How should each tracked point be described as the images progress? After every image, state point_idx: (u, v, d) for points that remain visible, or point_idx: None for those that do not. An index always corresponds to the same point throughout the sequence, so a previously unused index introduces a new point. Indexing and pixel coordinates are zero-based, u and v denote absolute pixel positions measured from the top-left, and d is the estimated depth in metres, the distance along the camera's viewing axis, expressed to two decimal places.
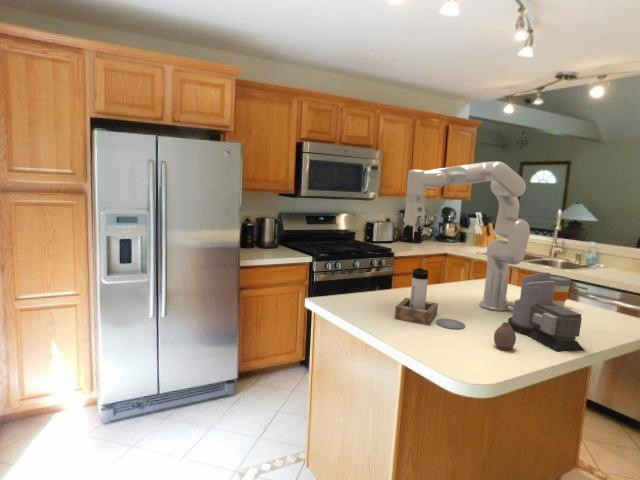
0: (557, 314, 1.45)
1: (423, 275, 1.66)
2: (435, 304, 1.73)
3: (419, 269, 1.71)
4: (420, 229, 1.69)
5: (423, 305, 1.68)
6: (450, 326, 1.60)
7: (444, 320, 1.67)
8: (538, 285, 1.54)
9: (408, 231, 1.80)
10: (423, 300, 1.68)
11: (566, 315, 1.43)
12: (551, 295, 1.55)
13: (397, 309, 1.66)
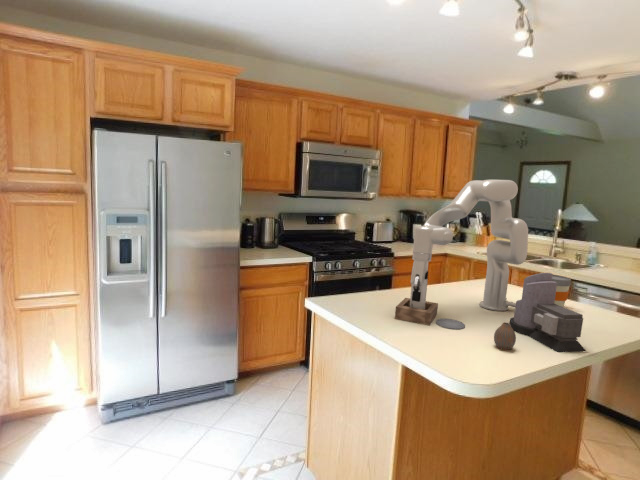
0: (558, 314, 1.44)
1: None
2: (435, 304, 1.73)
3: None
4: None
5: (423, 305, 1.68)
6: (450, 326, 1.60)
7: (444, 320, 1.67)
8: (539, 285, 1.54)
9: None
10: (423, 300, 1.68)
11: (567, 315, 1.42)
12: (553, 295, 1.55)
13: (397, 309, 1.66)
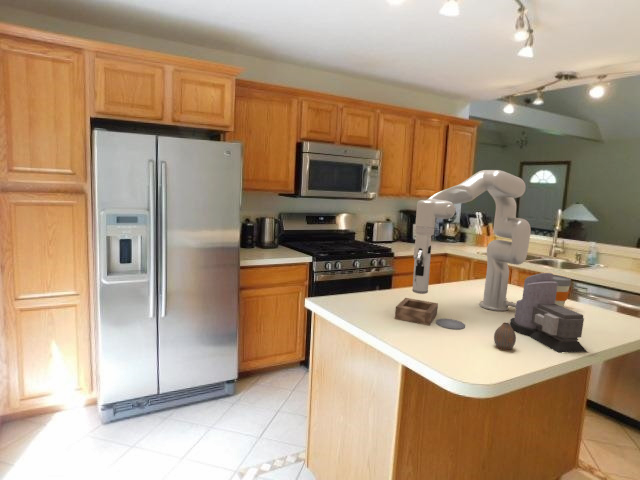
0: (559, 315, 1.44)
1: None
2: (435, 304, 1.73)
3: None
4: None
5: (426, 280, 1.67)
6: (450, 326, 1.60)
7: (444, 320, 1.67)
8: (540, 286, 1.53)
9: None
10: (426, 274, 1.67)
11: (568, 316, 1.42)
12: (553, 296, 1.55)
13: (397, 309, 1.66)
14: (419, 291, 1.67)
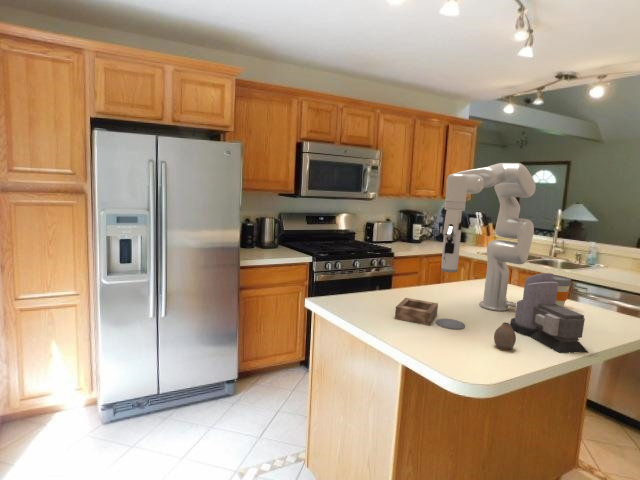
0: (560, 315, 1.44)
1: None
2: (435, 304, 1.73)
3: None
4: None
5: (456, 258, 1.59)
6: (450, 326, 1.60)
7: (444, 320, 1.67)
8: (540, 286, 1.53)
9: None
10: (456, 252, 1.59)
11: (569, 316, 1.42)
12: (554, 296, 1.54)
13: (397, 309, 1.66)
14: (448, 270, 1.59)
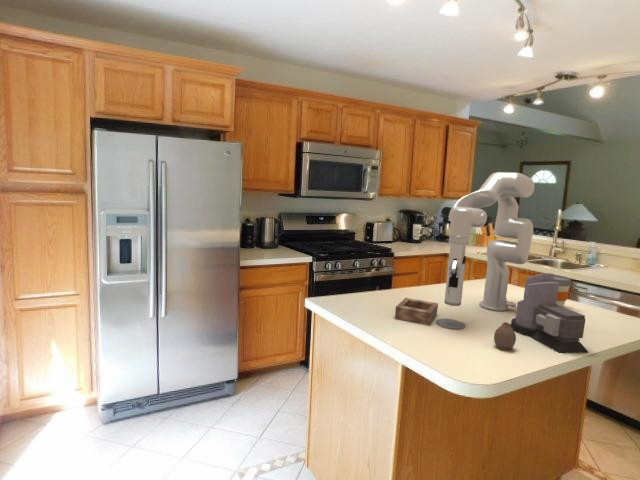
0: (560, 315, 1.44)
1: None
2: (435, 304, 1.73)
3: None
4: None
5: (460, 291, 1.59)
6: (450, 326, 1.60)
7: (444, 320, 1.67)
8: (541, 286, 1.53)
9: None
10: (460, 286, 1.59)
11: (570, 316, 1.41)
12: (555, 296, 1.54)
13: (397, 309, 1.66)
14: (452, 303, 1.59)
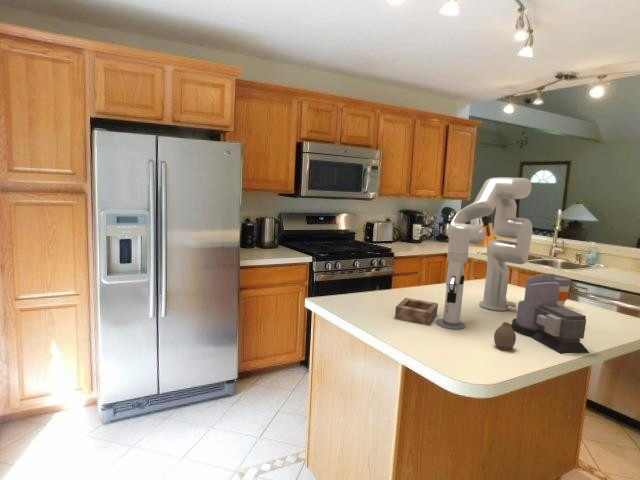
0: (561, 315, 1.43)
1: None
2: (435, 304, 1.73)
3: None
4: None
5: (459, 311, 1.61)
6: (450, 326, 1.60)
7: None
8: (542, 286, 1.53)
9: None
10: (459, 306, 1.60)
11: (570, 317, 1.41)
12: (555, 296, 1.54)
13: (397, 309, 1.66)
14: (451, 323, 1.61)
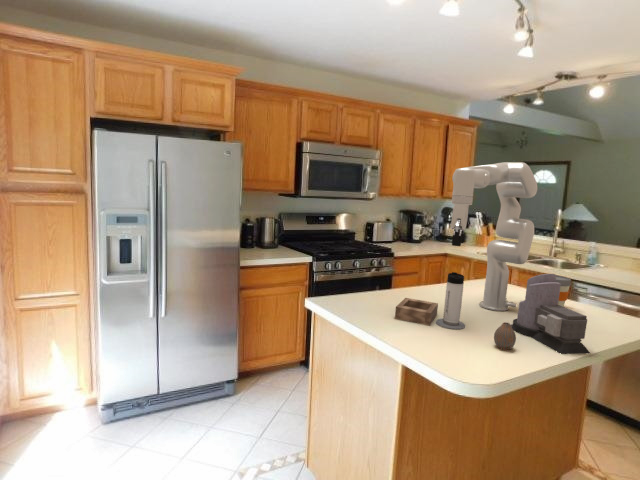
0: (562, 316, 1.43)
1: (459, 280, 1.58)
2: (435, 304, 1.73)
3: (454, 273, 1.64)
4: None
5: (459, 311, 1.61)
6: (450, 326, 1.60)
7: None
8: (543, 286, 1.52)
9: None
10: (459, 306, 1.60)
11: (571, 317, 1.41)
12: (556, 296, 1.53)
13: (397, 309, 1.66)
14: (451, 323, 1.61)
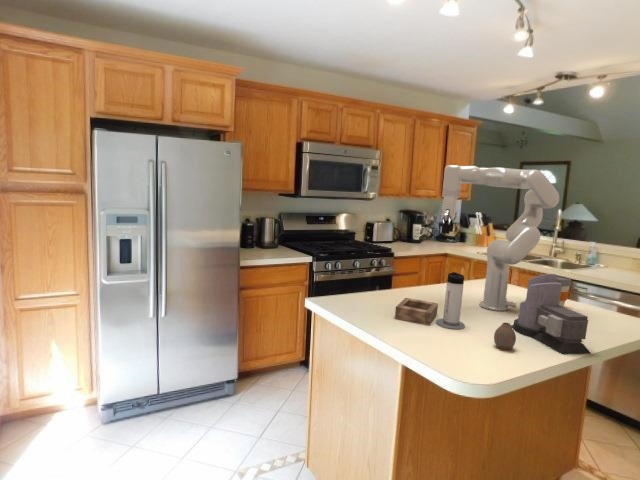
0: (563, 316, 1.43)
1: (459, 280, 1.58)
2: (435, 304, 1.73)
3: (454, 273, 1.64)
4: None
5: (459, 311, 1.61)
6: (450, 326, 1.60)
7: None
8: (544, 287, 1.52)
9: None
10: (459, 306, 1.60)
11: (572, 317, 1.41)
12: (557, 297, 1.53)
13: (397, 309, 1.66)
14: (451, 323, 1.61)
